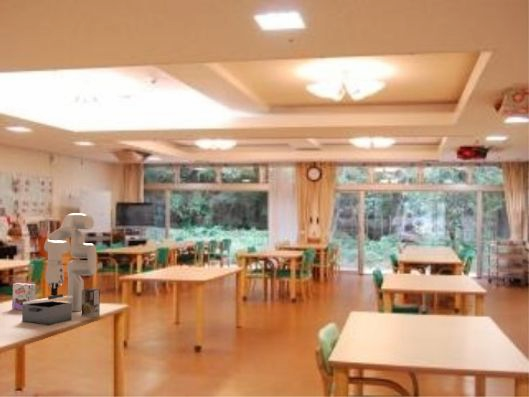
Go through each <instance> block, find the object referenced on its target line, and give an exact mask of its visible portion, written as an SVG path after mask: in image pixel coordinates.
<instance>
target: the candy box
mask: <svg viewBox="0 0 529 397" xmlns="http://www.w3.org/2000/svg"><path fill="white" fill-rule="evenodd" d="M32 300H36V283H35V284H34V283H24V282H15V283H12V304H11V306H12V307H11V309H12V310H17V311H18V310H19V311H22V305H23V302H26V301H32Z"/></svg>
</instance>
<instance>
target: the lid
mask: <svg viewBox="0 0 529 397" xmlns="http://www.w3.org/2000/svg"><path fill="white" fill-rule="evenodd" d="M68 298H73V295H72V296H68V295H65V296H64V293H63V294H62V293H59V294H57V295H48V296H47V297H45V298H38V299H35V300H32V301H26V302H23V304H30V303H41V302H51V301H60V300H66V299H67V300H68Z"/></svg>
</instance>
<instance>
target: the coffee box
mask: <svg viewBox="0 0 529 397" xmlns="http://www.w3.org/2000/svg"><path fill="white" fill-rule="evenodd" d="M100 295H101V289H100V288H99V289H98V288H84V290H82V311H81V317H88V318H89V317H90V318H96V317H100V314H101V313H100V309H101V308H100V306H101V305H100V304H101V303H100V302H101V296H100Z"/></svg>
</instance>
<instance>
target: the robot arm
mask: <svg viewBox="0 0 529 397" xmlns="http://www.w3.org/2000/svg"><path fill="white" fill-rule="evenodd" d="M94 224H95V221H94V218H93V216H91V215H88V214H85V213H69V214H66V215H65V216H64V218H63V221H62V223H61V225H60V226H59V228H57V229H56V230H54V231H52V232H51V233H49V234H48V236H47V237H46V239H45V242H44V246H43V248H44V251H45V253H47V255H48V256H47V265H46V271H45V281H46V284H47V285H49V288H50V291H51V292H50V296H53V295H58V289H59V287H60V286H63V283H64V282H65V269H64V266H63V254H67V253H68V252H70V256H71V258H73V259H74V260H70V261H68V262H67V265H66V271H67V272H66V273H67V282H68V283H67V296H72V295H73V298H67V303H72V312H82V290H84V289H85V287H84V286H85V284H84V282H85V281H84V279H83V278H82V277H81V276H93V275H94V274H95V273H96V262H97V247H96V245H95V244H94V243H86V235H85V233H84V232H83V230H91V229H93V227H94V226H95V225H94ZM69 238H70V239H71V240H70V242H69V241H68V240H67V239H69ZM83 259H86V260H83Z"/></svg>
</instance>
